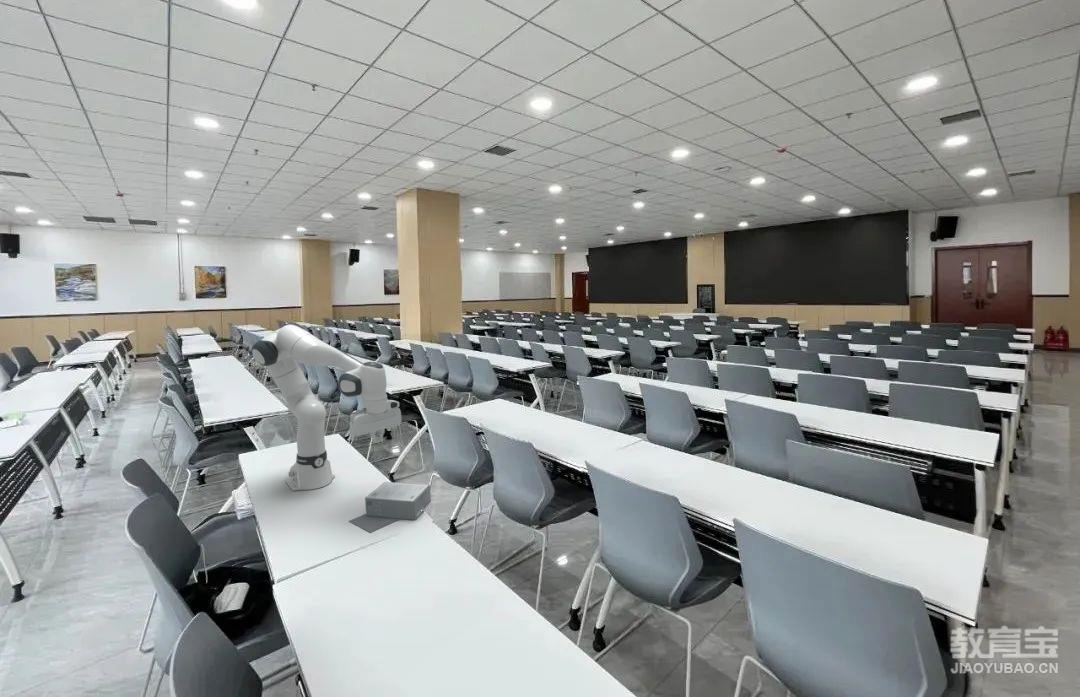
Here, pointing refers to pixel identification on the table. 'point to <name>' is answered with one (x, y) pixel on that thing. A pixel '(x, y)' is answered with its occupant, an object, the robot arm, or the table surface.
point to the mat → (372, 522)
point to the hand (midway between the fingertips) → (377, 441)
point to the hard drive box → (398, 500)
